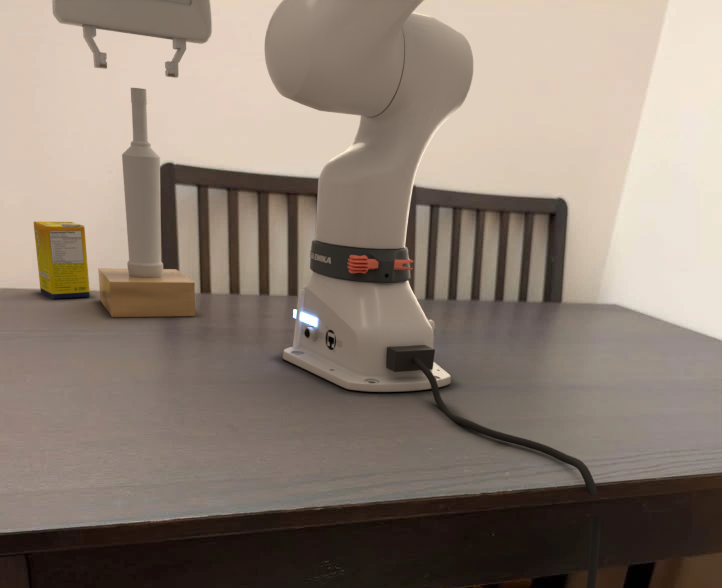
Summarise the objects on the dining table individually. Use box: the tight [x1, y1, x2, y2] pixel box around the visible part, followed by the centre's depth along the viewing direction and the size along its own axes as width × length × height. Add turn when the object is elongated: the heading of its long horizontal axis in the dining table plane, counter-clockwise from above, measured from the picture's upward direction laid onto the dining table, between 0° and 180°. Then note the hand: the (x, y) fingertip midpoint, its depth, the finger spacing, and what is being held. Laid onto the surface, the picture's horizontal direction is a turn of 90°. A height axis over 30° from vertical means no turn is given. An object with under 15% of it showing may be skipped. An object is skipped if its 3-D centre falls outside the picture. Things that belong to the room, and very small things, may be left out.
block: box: [97, 267, 196, 318], centre depth 111 cm, size 12×12×5 cm
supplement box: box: [33, 221, 91, 300], centre depth 114 cm, size 6×6×11 cm
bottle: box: [121, 87, 164, 278], centre depth 105 cm, size 5×5×25 cm
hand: (137, 72), depth 99 cm, fingers open, 8 cm apart
